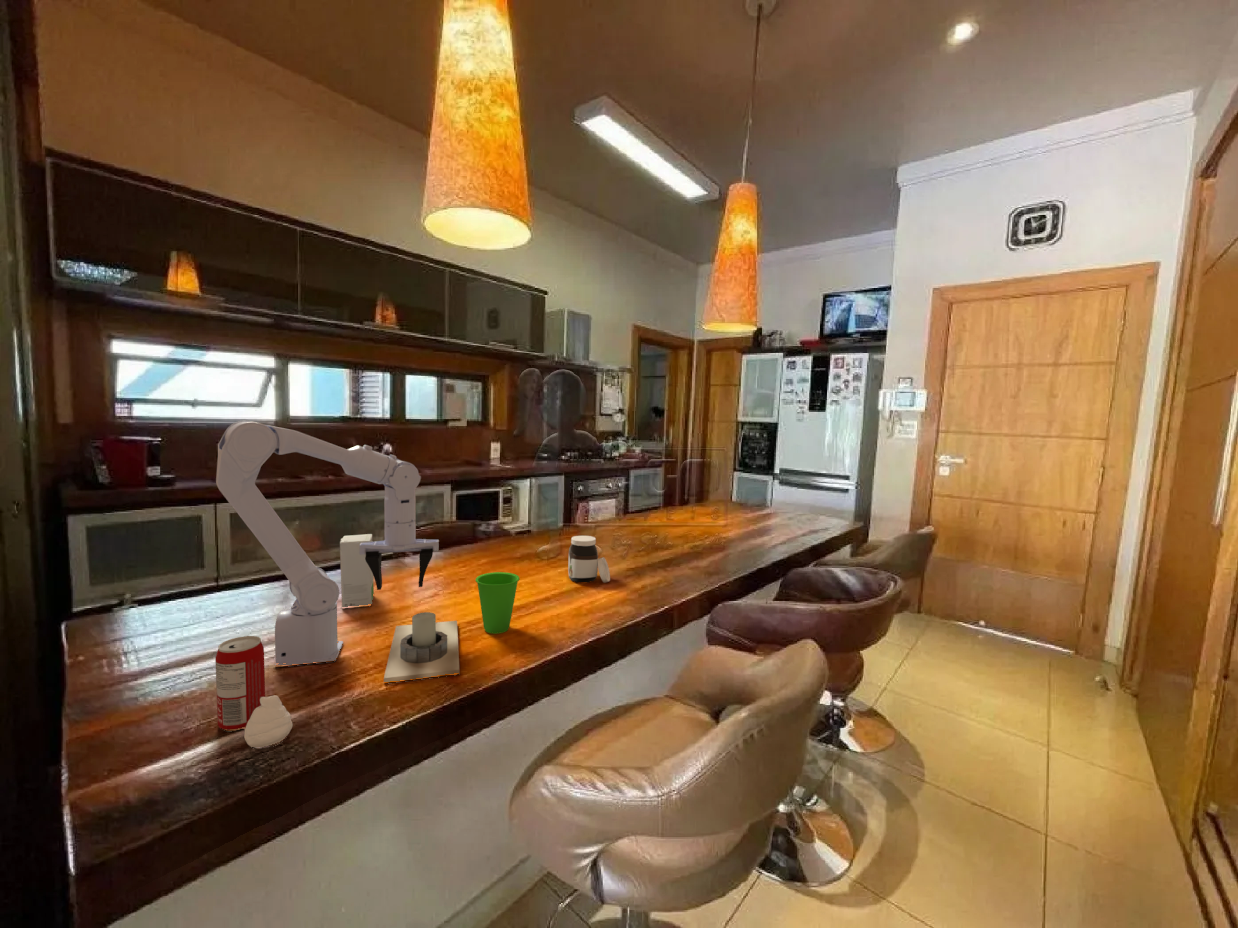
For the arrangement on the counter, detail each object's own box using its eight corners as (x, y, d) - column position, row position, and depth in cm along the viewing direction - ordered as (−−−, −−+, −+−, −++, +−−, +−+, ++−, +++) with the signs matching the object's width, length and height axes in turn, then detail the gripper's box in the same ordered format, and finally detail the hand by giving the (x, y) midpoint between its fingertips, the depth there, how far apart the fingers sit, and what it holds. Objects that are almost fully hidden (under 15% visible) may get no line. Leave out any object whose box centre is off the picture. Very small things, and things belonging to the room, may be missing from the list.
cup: (474, 639, 103) (475, 585, 102) (474, 622, 112) (475, 572, 111) (520, 636, 105) (521, 583, 105) (516, 619, 114) (517, 571, 113)
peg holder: (383, 684, 85) (383, 663, 85) (396, 630, 106) (396, 614, 106) (459, 674, 89) (459, 655, 89) (456, 625, 110) (457, 609, 109)
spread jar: (565, 574, 148) (566, 534, 147) (603, 572, 151) (604, 533, 150) (574, 587, 137) (575, 545, 136) (614, 585, 140) (616, 543, 139)
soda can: (264, 706, 78) (262, 630, 77) (266, 724, 73) (264, 643, 72) (218, 718, 74) (215, 638, 73) (217, 738, 70) (214, 653, 69)
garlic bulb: (290, 683, 74) (293, 700, 69) (291, 722, 74) (294, 742, 70) (243, 693, 70) (242, 713, 66) (244, 735, 71) (244, 757, 66)
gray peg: (411, 659, 92) (410, 621, 91) (413, 649, 96) (413, 613, 95) (434, 657, 93) (434, 619, 92) (436, 647, 97) (436, 611, 96)
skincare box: (371, 607, 118) (371, 541, 117) (339, 610, 116) (338, 542, 114) (374, 595, 126) (373, 532, 124) (343, 597, 123) (343, 534, 122)
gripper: (356, 526, 96) (357, 596, 97) (438, 523, 101) (438, 590, 102) (362, 518, 103) (362, 584, 104) (438, 516, 107) (438, 579, 109)
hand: (400, 586), depth 103 cm, fingers open, 7 cm apart
